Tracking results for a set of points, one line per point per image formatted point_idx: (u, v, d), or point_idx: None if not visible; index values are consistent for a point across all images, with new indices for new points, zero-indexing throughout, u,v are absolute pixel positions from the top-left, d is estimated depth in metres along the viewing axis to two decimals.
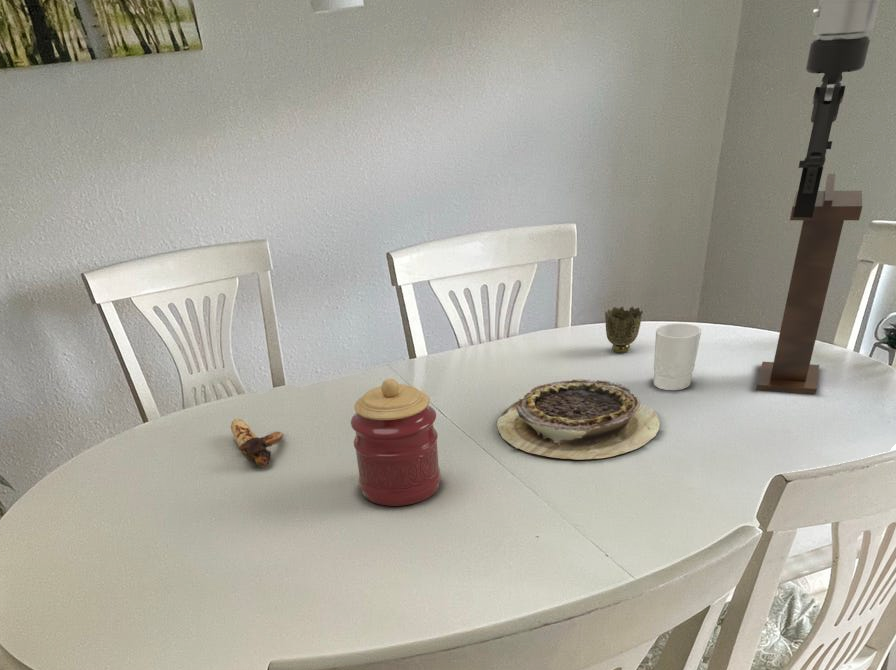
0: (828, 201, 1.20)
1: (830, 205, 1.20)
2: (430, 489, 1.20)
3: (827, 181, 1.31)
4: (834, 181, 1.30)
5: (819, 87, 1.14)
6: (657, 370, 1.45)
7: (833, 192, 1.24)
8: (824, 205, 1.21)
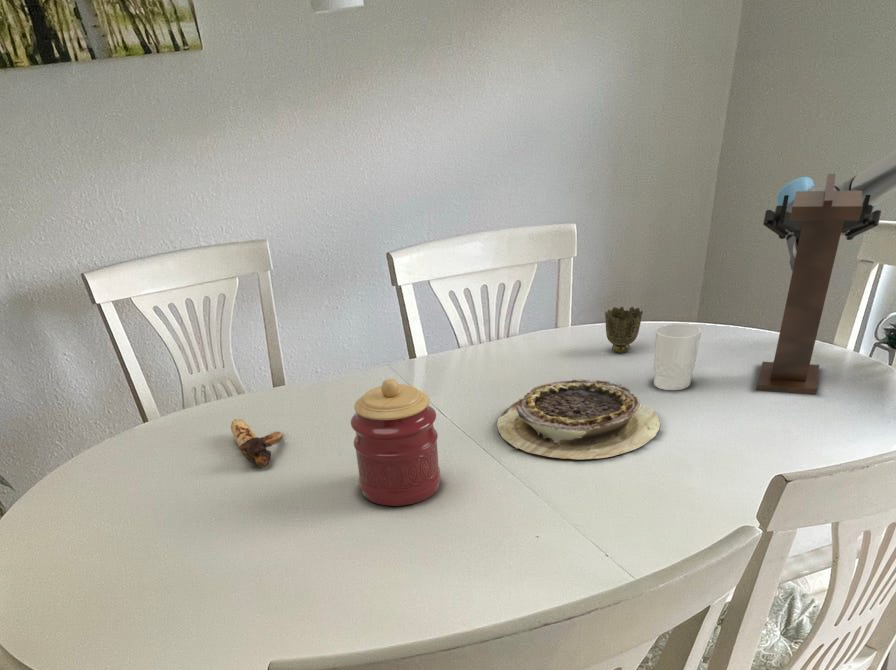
0: (828, 201, 1.20)
1: (830, 205, 1.20)
2: (430, 489, 1.20)
3: (827, 181, 1.31)
4: (834, 181, 1.30)
5: None
6: (657, 370, 1.45)
7: (833, 192, 1.24)
8: (824, 205, 1.21)
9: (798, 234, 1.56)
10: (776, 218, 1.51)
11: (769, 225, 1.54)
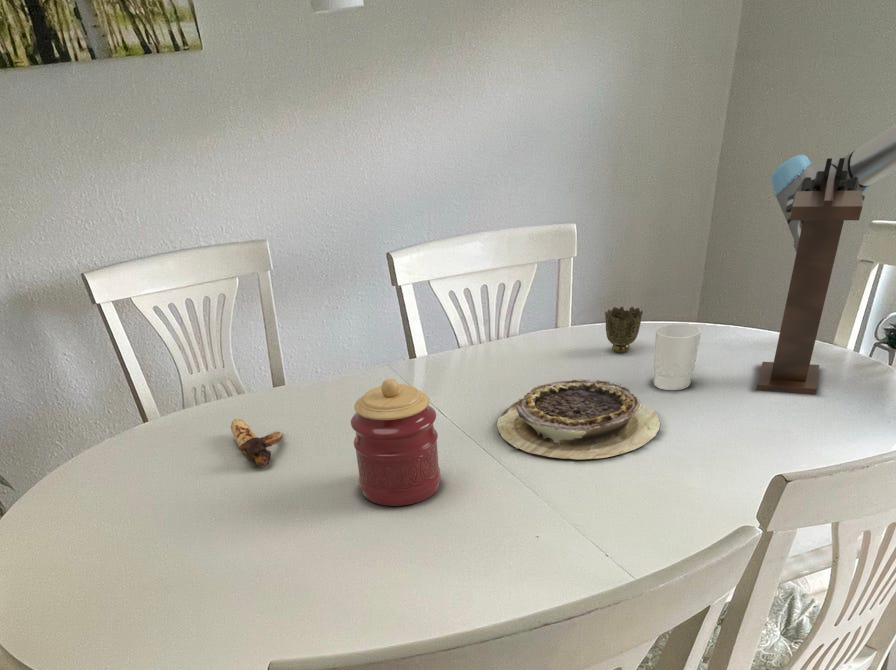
0: (828, 201, 1.20)
1: (830, 205, 1.20)
2: (430, 489, 1.20)
3: (827, 181, 1.31)
4: (834, 181, 1.30)
5: None
6: (657, 370, 1.45)
7: (833, 192, 1.24)
8: (824, 205, 1.21)
9: None
10: (816, 186, 1.35)
11: None
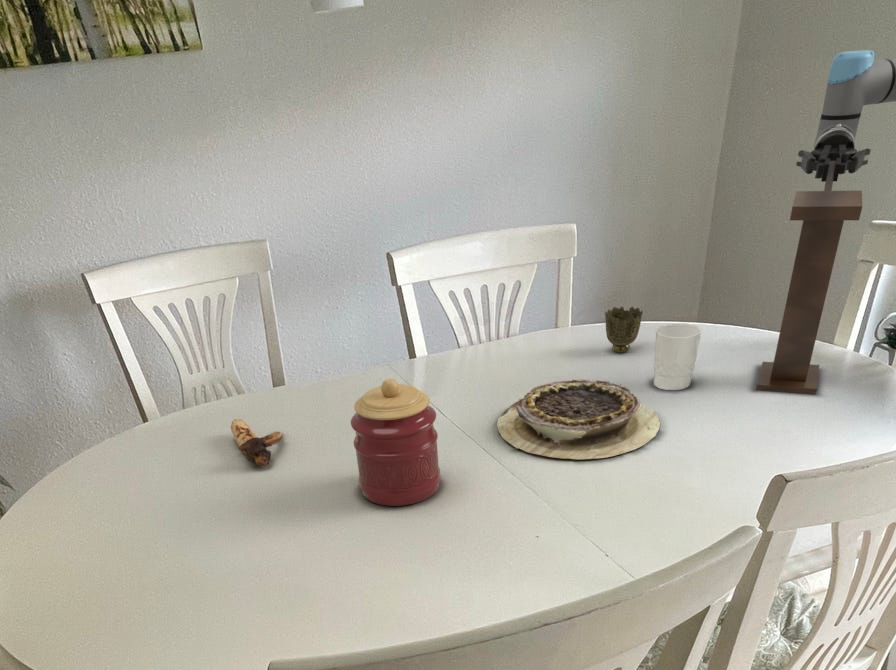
0: None
1: None
2: (430, 489, 1.20)
3: (827, 173, 1.43)
4: None
5: None
6: (657, 370, 1.45)
7: (831, 190, 1.37)
8: None
9: None
10: None
11: None
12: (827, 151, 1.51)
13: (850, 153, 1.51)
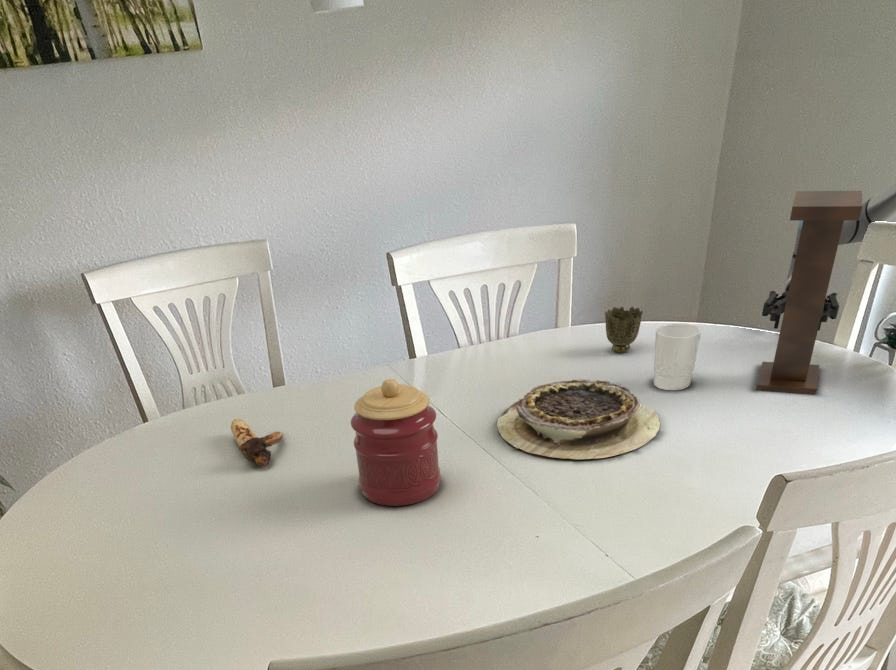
0: None
1: None
2: (430, 489, 1.20)
3: None
4: None
5: None
6: (657, 370, 1.45)
7: None
8: None
9: None
10: None
11: None
12: None
13: None
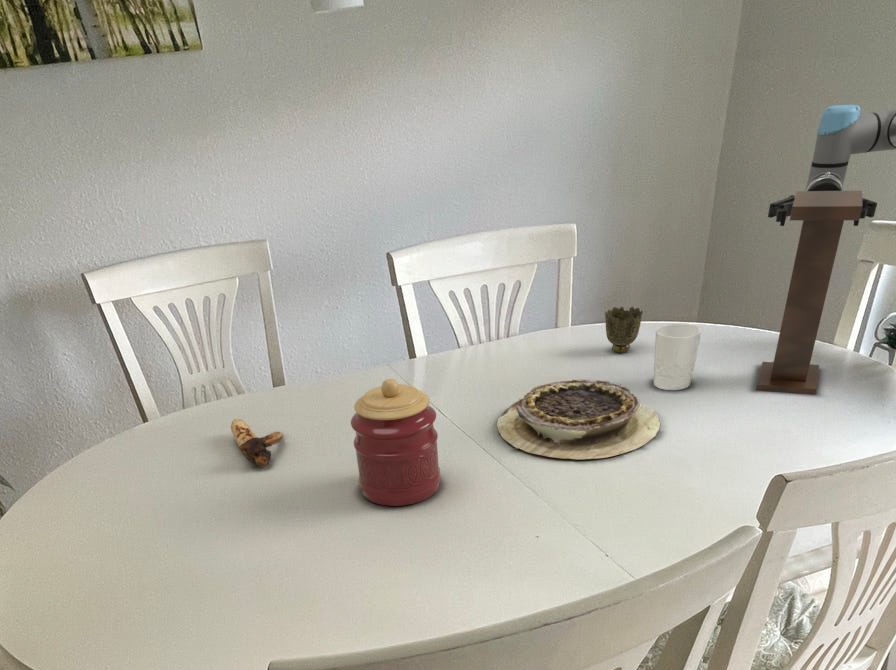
0: None
1: None
2: (430, 489, 1.20)
3: None
4: None
5: None
6: (657, 370, 1.45)
7: None
8: None
9: None
10: None
11: None
12: None
13: None
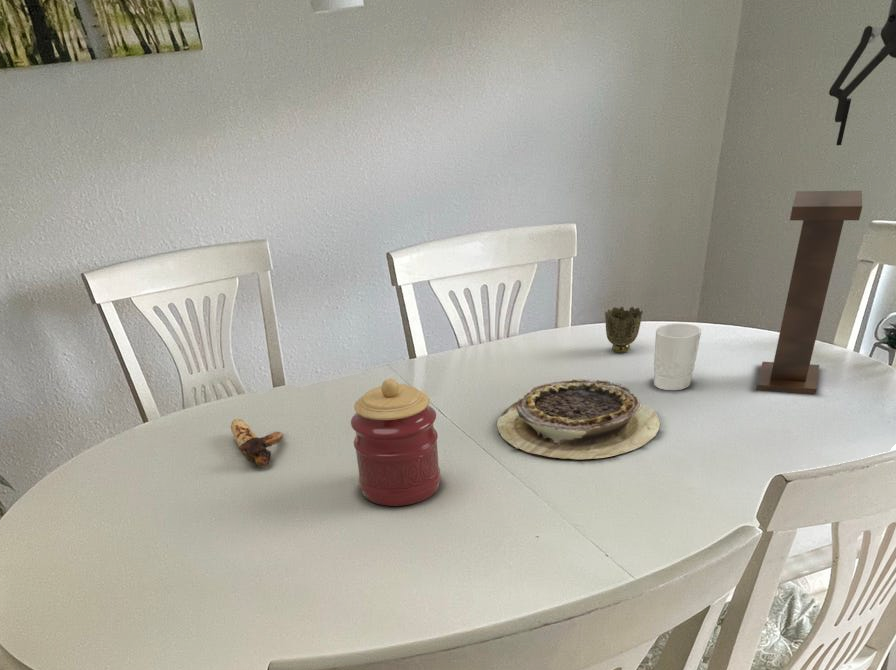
0: None
1: None
2: (430, 489, 1.20)
3: None
4: None
5: None
6: (657, 370, 1.45)
7: None
8: None
9: None
10: None
11: None
12: (880, 60, 1.27)
13: None
